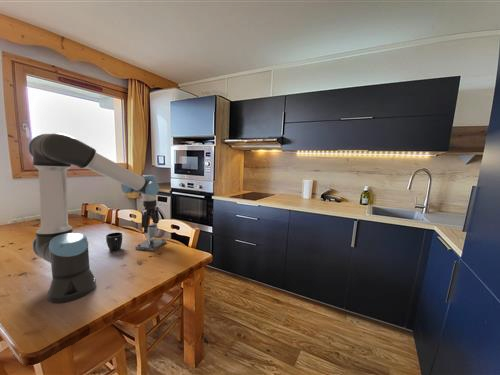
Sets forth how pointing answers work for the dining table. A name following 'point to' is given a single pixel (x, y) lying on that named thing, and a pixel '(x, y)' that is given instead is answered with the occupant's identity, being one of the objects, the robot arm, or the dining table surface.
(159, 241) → the shaft block
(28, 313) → the dining table surface
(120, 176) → the robot arm
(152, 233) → the hub
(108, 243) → the mug
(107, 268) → the dining table surface
